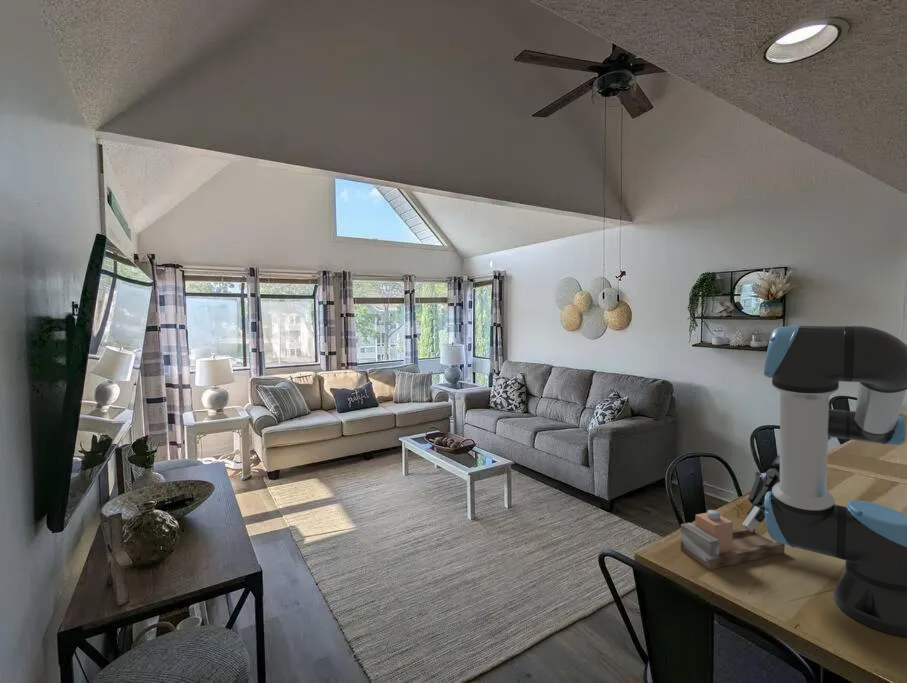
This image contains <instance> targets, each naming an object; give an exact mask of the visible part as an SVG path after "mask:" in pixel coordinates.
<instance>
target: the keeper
mask: <svg viewBox="0 0 907 683" xmlns="http://www.w3.org/2000/svg"><path fill="white" fill-rule="evenodd" d="M733 524H734V523H733V521H732V520H730V519H728V518H726V517H724V516H722V515H721V512H719V511H718V510H715V509H708V510H707V512H703V513H698V514H697V513H696V514H695V524H694V526H696V527H698V528H700V529H701V530H703V531H705V532H706V533H708V534H710V535H711V536H713V537H715V538H716V539H718V540H719V554H724V553H729V552H732V533H733V530H734V529H733V528H734V526H733Z"/></svg>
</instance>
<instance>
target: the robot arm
mask: <svg viewBox="0 0 907 683" xmlns="http://www.w3.org/2000/svg"><path fill="white" fill-rule="evenodd" d="M763 376H765V377H767V378H769V379H771V385H772V387H774V389H776V390H777V391H779V392H780V393H779V394H780V395H779V396H780V397H779V400H780V401H779V402H780V404H779V407H780V408H779V409H780V410H779V419H780V420H779V427H780V428H779V429H780V430H779V455H777V456H776V457H775V459H774V460H773V461H772V463H771V467H770V468H769V469H768V470H766V472H762V473H761V472H759V471H756V472H755V480H754V482H753V485H752V487H751V490H750V492H749V495H748V498H747V500H748V501H749V502H750V504H751V506H750V508H749V510H748V511H747V513H746V515H747V516H746V518H745V520H744V521H743V522H742V526H743V527H744V528H746V529H748V530H749V531H751V532H752V531H753V530H754V529H755V530H756V527H757V526H758V525H759V523H763V522H764V520H765V525H766V530H767V533H768V535H769V537H770V538H771V540H773V541H774V542H779V543H783V544H785V545H786V546H789V547H790V548H797V549H801V550H804V551H809V552H812V553H817V554H820V555H823V556H828V557H832V558H836V559H839V560H844V561H845V568H844V570H843V572H842V574H841V575H840V577H839V579H838V581H837V584H835V587H834V594H833V596H834V597H833V599H834V603H835V605H836V606H837V607H838V608H839V609H840V610H841V611H842V612H843V613H845V614H846V615H848V616H849V617H850V618H852V619H854V620H855V621H857V622H858V623H860V624H863V625H865V626H867V627H870V628H872V629H873V630H874V629H875V630H877V631H879V632H883V633H886V634H889V635H894V636H899V637H903V638H905V637H906V638H907V515H906V514H904V513H902V512H900V511H898V510H896V509H893V508H891V507H888V506H886V505H882V504H878V503H875V502H871V501H866V500H855V499H854V500H849V501H848V503H847V504H846V506H843V505H838V504H836V503H835V502H836V500H835V498H834V496H833V495H832V493H830V491H829V490H827V483H828V482H827V479H828V478H827V476H828V444H829V441H830V440H832V438H836V439H843V440H852V441H860V442H869V443H874V444H881V445H894V446H902V445H903V444H904V443H906V442H905V441H906V435H907V434H906V432H907V426H906V425H907V424H906V420H905V418H904V417H903V416H900V412H901V409H902V406H903V402H904V399H905V396H906V392H907V344H906V343H905V342H904V341H902V340H901V339H899V338H898V337H896V336H895V335H893V334H891V333H889V332H886V331H884V330H882V329H878V328H875V327H870V326H865V325H863V326H862V325H853V326H852V325H851V326H848V325H847V326H846V325H845V326H839V325H834V326H833V325H831V326H830V325H792V326H778V327H776V328H775V329H773V330H772V331H771V334H770V338H769V341H768V345H767V351H766V356H765V361H764V370H763ZM840 382H846V383H847V382H849V383H856V382H857V383H858V389H857V399H856V406H855V411H854V410H853V411H852V410H844V409H835V408H834V409H832V408H829V407H830V395H832V394H834V393H836V392H837V391H838V390H839V388H840V385H839V384H840Z"/></svg>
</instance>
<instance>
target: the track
mask: <svg viewBox="0 0 907 683" xmlns="http://www.w3.org/2000/svg"><path fill="white" fill-rule="evenodd" d="M785 545H786V544H783V543H779V542H776V541H772V540H770V539H768V538H767V537H764V536H763V535H761V534H759V533H757V532H756V528H755V529H754V530H753V531H752V532H751V531H749V530H748V529H746V528H745V527H743V528H737V529H733V533H732V552H729V553H724V554H719V540H718V539H716V538H715V537H713V536H711V535H710V534H708V533H706V532H705V531H703V530H701V529H700V528H698V527H696V526H695V524H692V523H691V522H685V523H681V524H680V551H681V552H683V553H685V554H686V555H687V556H689V557H690V558H692V559H693V560H695V561H696V562H698V563H699V564H701V565H702V566H703V567H705V568H706V569H708V570H714V569H718V568H723V567H728V566H733V565H737V564H742V563H747V562H751V561H755V560H759V559H764V558H768V557H774V556H778V555H782V554H785Z"/></svg>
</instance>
